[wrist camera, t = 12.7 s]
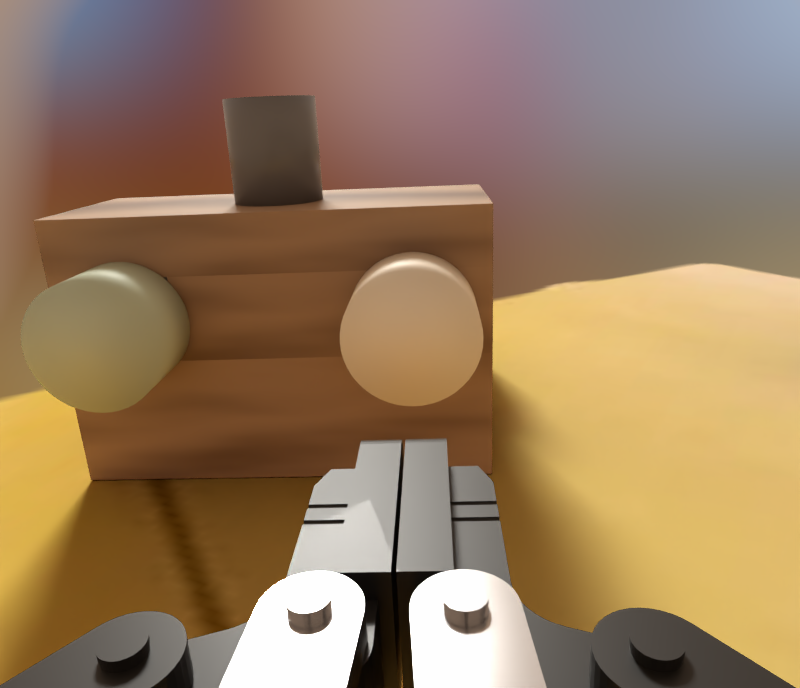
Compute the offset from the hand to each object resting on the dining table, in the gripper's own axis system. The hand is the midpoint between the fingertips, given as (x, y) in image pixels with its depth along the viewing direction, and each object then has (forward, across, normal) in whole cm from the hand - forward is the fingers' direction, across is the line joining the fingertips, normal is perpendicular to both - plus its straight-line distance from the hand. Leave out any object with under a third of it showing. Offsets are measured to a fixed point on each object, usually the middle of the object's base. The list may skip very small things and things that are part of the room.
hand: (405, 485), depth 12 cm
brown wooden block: (+17, +6, +8) cm, 20 cm away
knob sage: (+16, +11, +3) cm, 20 cm away
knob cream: (+16, 0, +3) cm, 17 cm away
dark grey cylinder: (+17, +6, -3) cm, 18 cm away
